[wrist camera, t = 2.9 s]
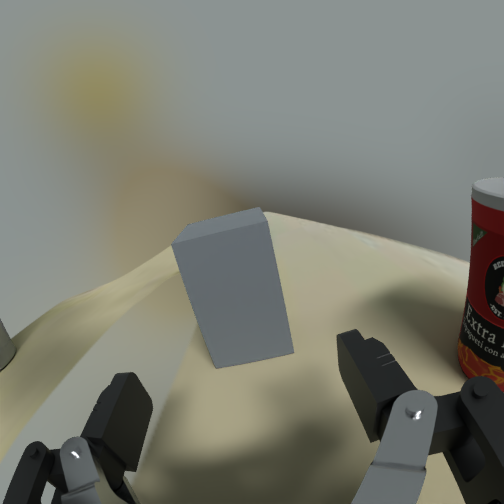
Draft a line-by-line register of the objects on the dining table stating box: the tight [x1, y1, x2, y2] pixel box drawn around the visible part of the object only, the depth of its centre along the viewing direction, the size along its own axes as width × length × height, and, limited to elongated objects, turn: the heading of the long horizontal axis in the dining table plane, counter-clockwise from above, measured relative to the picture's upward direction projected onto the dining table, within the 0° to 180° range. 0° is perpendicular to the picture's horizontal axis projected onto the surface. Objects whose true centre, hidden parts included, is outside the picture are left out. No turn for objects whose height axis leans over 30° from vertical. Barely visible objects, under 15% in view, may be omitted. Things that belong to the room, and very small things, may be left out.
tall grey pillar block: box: [171, 207, 294, 368], centre depth 21 cm, size 6×6×10 cm
